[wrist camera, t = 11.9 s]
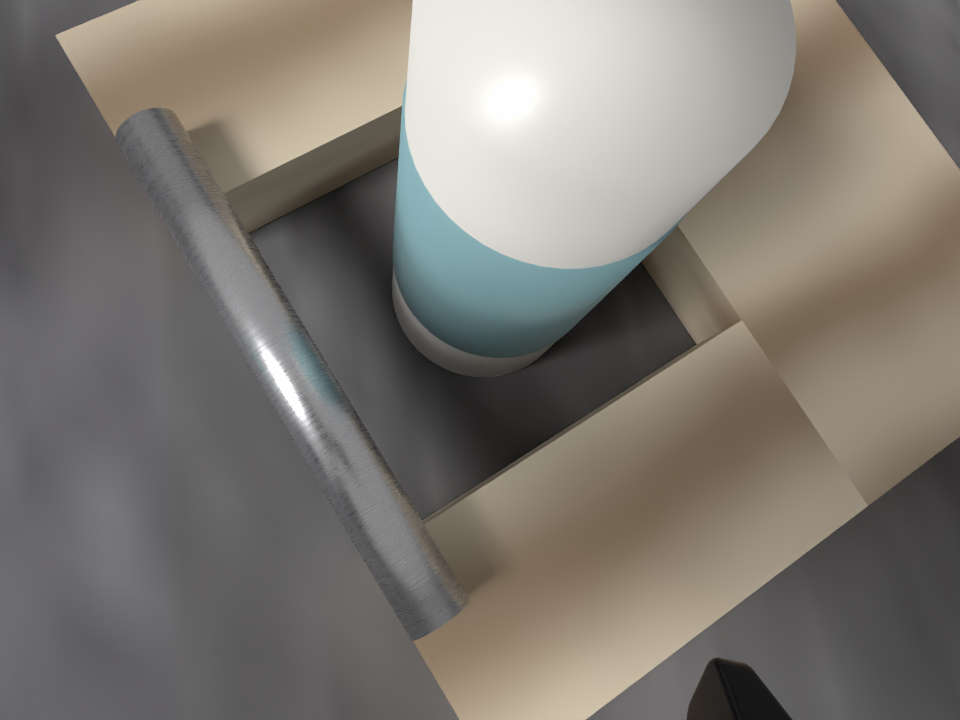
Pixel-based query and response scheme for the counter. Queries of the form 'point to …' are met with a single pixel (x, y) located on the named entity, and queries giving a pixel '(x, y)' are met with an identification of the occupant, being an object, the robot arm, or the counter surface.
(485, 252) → the white teal rounded cylinder
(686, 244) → the light wood flat tray
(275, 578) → the counter surface
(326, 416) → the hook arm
